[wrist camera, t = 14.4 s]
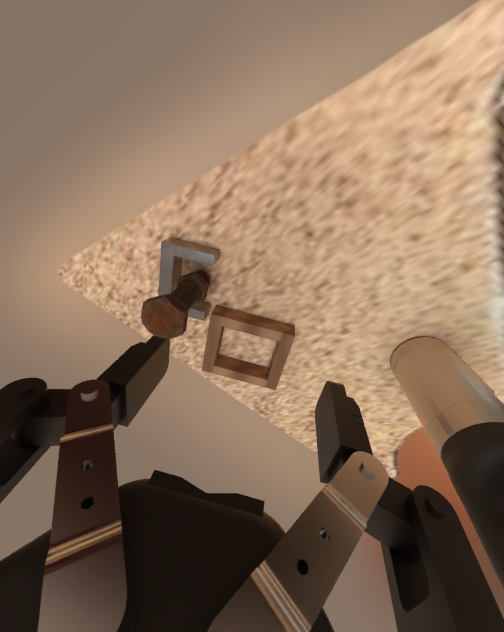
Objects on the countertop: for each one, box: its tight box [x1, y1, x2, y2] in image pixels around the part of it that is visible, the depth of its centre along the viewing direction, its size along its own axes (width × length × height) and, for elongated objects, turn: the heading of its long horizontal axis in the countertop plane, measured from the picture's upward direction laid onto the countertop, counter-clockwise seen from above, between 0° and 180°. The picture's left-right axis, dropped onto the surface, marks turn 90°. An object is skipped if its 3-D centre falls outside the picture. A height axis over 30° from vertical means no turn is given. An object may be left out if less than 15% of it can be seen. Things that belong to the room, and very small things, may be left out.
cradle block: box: [158, 237, 220, 321], centre depth 42 cm, size 8×11×4 cm
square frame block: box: [202, 305, 295, 390], centre depth 46 cm, size 14×12×4 cm
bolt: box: [141, 271, 210, 339], centre depth 37 cm, size 6×5×15 cm
